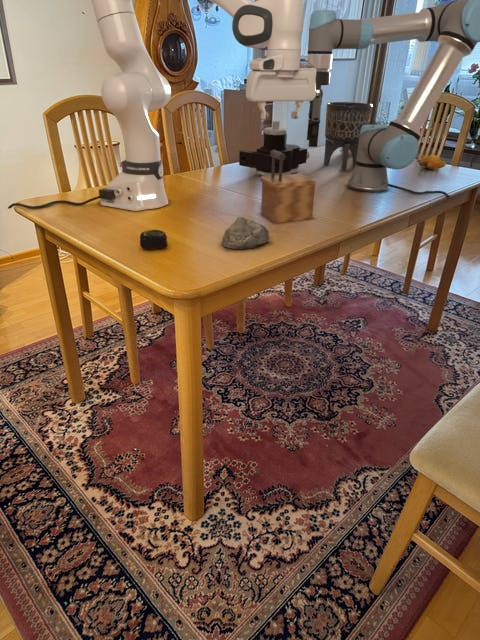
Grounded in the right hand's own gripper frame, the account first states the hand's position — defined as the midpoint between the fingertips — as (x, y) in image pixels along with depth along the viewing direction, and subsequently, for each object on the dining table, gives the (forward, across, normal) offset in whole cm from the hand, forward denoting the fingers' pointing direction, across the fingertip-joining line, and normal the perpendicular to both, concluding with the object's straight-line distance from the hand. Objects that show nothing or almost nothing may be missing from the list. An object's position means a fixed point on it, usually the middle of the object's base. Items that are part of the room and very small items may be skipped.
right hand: (311, 143), depth 151 cm
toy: (+19, -65, +60) cm, 90 cm away
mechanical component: (+19, -41, -10) cm, 46 cm away
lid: (+8, +20, -8) cm, 23 cm away
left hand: (-10, +22, -11) cm, 26 cm away
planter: (+19, -60, +19) cm, 65 cm away
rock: (+19, +46, -18) cm, 53 cm away
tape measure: (+19, +53, -41) cm, 69 cm away
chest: (+19, +20, -7) cm, 29 cm away
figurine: (+19, -93, +26) cm, 99 cm away
